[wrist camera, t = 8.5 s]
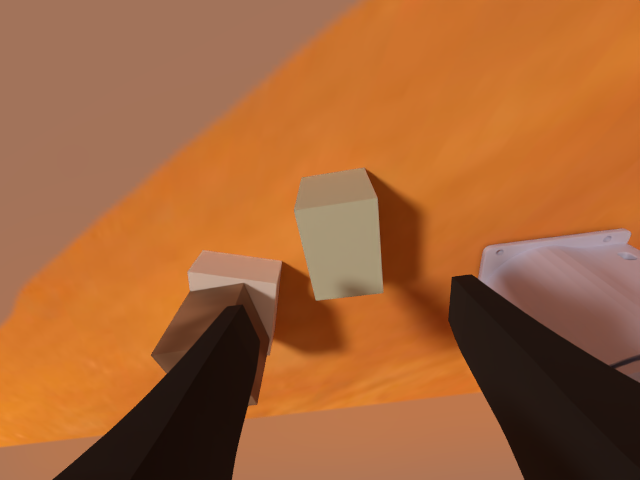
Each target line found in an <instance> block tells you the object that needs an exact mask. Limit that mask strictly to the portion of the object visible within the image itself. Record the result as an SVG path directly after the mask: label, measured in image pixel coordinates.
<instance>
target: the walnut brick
mask: <svg viewBox="0 0 640 480" xmlns="http://www.w3.org/2000/svg"><path fill="white" fill-rule="evenodd" d="M241 304H243V306H244V308H245V310H246V312H247V314H248V316H249V318H250V320H251V323H252V325H253V327H254V329H255V331H256V333H257V335H258V337H259V340H260V349H259V357H258V365H257V371H256V375H255V379H254V383H253V387H252V392H251V396H250V399H249V403H248V406H249V405H257V403H258V398H259V392H260V387H261V382H262V377H263V372H264V367H265V362H266V357H267V352H268V347H269V342H270V338H269V336H268V334H267V332H266V329H265V327H264V325H263V323H262V321H261V319H260V317H259V314H258V312H257V310H256V308H255V306H254V304H253V302H252V299H251V297H250V295H249V293H248V291H247V289H246V287H245V284H244V283H239V284H233V285H227V286H221V287H214V288H208V289H202V290H196V291H190V292H189V294H188V295H187V297H186V298H185V300H184V302H183V303H182V305H181V307H180V308H179V310H178V312H177V313H176V315H175V316H174V318H173V320H172V321H171V323H170V325H169V326H168V328H167V329H166V331H165V333H164V334H163V336H162V338H161V339H160V341H159V343H158V344H157V346H156V347H155V349H154V351H153V352H152V354H151V356H152V357H153V358H154V359H155V361H156V362H157V363H158V364H159V365H160V366H161V368H162V369H163V370H164V371H165V372H166V373H168V372H169V371H170V370H171V369H172V368H173V367H174V366H175V365H176V364H177V363H178V362H179V360H180V359H181V358H182V357H183V356H184V355H185V354H186V353H187V351H188V350H189V349H190V348H191V347H192V346H193V345H194V343H195V342H196V341H197V340H198V339H199V338H200V337H201V335H202V334H203V333H204V332H205V331H206V330H207V328H208V327H209V326H210V325H211V324H212V323H213V321H214V320H215V319H216V318H217V317H218V316H219V315H220V313H221V312H222V311H223V310H224V309H225V308H226V307H227V306H233V305H241Z"/></svg>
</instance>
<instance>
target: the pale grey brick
mask: <svg viewBox="0 0 640 480" xmlns="http://www.w3.org/2000/svg"><path fill="white" fill-rule="evenodd" d="M281 267H282V261H278V260H271V259H264V258H256V257H249V256H242V255H235V254H228V253H220V252H213V251H206V250H203V251H202V252H201V253H200V255H199V256H198V258H197V259H196V260H195V262H194V263H193V265H192V266H191V267H190V269H189V270H188V279H189V287H190V291H196V290H202V289H208V288H214V287H221V286H227V285H233V284H239V283H244V284H245V287H246V289H247V291H248V293H249V295H250V297H251V299H252V302H253V304H254V306H255V308H256V310H257V312H258V314H259V317H260V319H261V321H262V323H263V325H264V327H265V329H266V332H267V334H268V336H269V338H270V342H269V347H268V352H267V355H270V351H271V346H272V341H273V336H274V331H275V323H276V314H277V305H278V295H279V286H280V276H281Z"/></svg>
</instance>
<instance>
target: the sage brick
mask: <svg viewBox="0 0 640 480" xmlns="http://www.w3.org/2000/svg"><path fill="white" fill-rule="evenodd" d="M294 213H295V217H296V221H297V225H298V229H299V233H300V237H301V241H302V246H303V250H304V254H305V258H306V262H307V266H308V270H309V275H310V279H311V283H312V287H313V291H314V295H315V299H316V301H317V300H326V299H335V298H344V297H352V296H361V295H370V294H379V293H383V279H382V263H381V246H380V230H379V213H378V198H377V196H376V193H375V191H374V189H373V186H372V184H371V182H370V180H369V177H368V175H367V173H366V170H365V168H358V169H352V170H346V171H340V172H334V173H327V174H321V175H315V176H309V177H303V178H301V182H300V187H299V191H298V195H297V200H296V204H295V208H294Z"/></svg>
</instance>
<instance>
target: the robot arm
mask: <svg viewBox="0 0 640 480" xmlns="http://www.w3.org/2000/svg"><path fill="white" fill-rule="evenodd" d="M630 236H631V232H630V231H628V230H626V229H622V228H621V229H613V230H605V231H598V232H590V233H582V234H574V235H566V236H558V237H551V238H543V239H535V240H527V241H519V242H511V243H503V244H496V245H490V246H487V247H486V248H485V249H484V250H483V254H482V260H481V265H480V271H479V277H478V279H477V278H476V277H475V276H473V275H472V274H471V275H463V276H455V277H452V282H451V294H450V306H449V318H448V321H449V323H450V326H451V328H452V331H453V334H454V336H455V339H456V341H457V344H458V346H459V349H460V351H461V353H462V355H463V357H464V359H465V360H466V362H467V364H468V366H469V368H470V370H471V372H472V374H473V376H474V377H475V379H476V381H477V383H478V385H479V387H480V389H481V390H482V392H483V394H484V396H485V398H486V400H487V402H488V403H489V405H490V407H491V409H492V411H493V413H494V415H495V416H496V418H497V420H498V422H499V424H500V426H501V428H502V430H503V432H504V434H505V436H506V438H507V440H508V443H509V445H510V447H511V449H512V452H513V454H514V456H515V459H516V461H517V463H518V466H519V468H520V470H521V473H522V475H523V477H524V480H640V250H638V249H636V248H634V247H632V246H631V245H629V244H627V242H628V240H629V238H630ZM498 250H500V251H499V252H497V251H498ZM259 349H260V340H259V337H258V335H257V333H256V331H255V329H254V327H253V325H252V323H251V320H250V318H249V316H248V314H247V312H246V310H245V308H244V306H243V304H241V305H233V306H227V307H226V308H225V309H224V310H223V311H222V312H221V313H220V315H219V316H218V317H217V318H216V319H215V320H214V321H213V323H212V324H211V325H210V326H209V327H208V328H207V330H206V331H205V332H204V333H203V334H202V335H201V337H200V338H199V339H198V340H197V341H196V342H195V343H194V345H193V346H192V347H191V348H190V349H189V350H188V351H187V353H186V354H185V355H184V356H183V357H182V358H181V359H180V360H179V362H178V363H177V364H176V365H175V366H174V367H173V368H172V369H171V370H170V371H169V372H168V373H167V374H166V375H165V376H164V378H163V379H162V380H161V381H160V382H159V383H158V384H157V385H156V386H155V387H154V388H153V389H152V390H151V391H150V392H149V393H148V394H147V395H146V396H145V397H144V398H143V399H142V400H141V401H140V402H139V403H138V404H137V405H136V406H135V407H134V408H133V409H132V410H131V411H130V412H129V413H128V414H127V415H126V416H125V417H124V418H123V419H121V420H120V421H119V422H118V423H117V424H116V425H115V426H114V427H113V428H112V429H111V430H110V431H109V432H107V433H106V434H105V435H104V436H103V437H102V438H101V439H99V440H98V441H97V442H96V443H95V444H94V445H93V446H91V447H90V448H89V449H88V450H87V451H86V452H84V453H83V454H82V455H81V456H80V457H79V458H78V459H76V460H75V461H74V462H73V463H72V464H71V465H69V466H68V467H67V468H66V469H65V470H64V471H62V472H61V473H60V474H59V475H58V476H56V477H55V478H54V479H53V480H232V475H233V468H234V463H235V457H236V452H237V447H238V443H239V439H240V435H241V431H242V427H243V423H244V419H245V415H246V411H247V407H248V403H249V399H250V396H251V392H252V387H253V383H254V379H255V375H256V371H257V365H258V357H259Z"/></svg>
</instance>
